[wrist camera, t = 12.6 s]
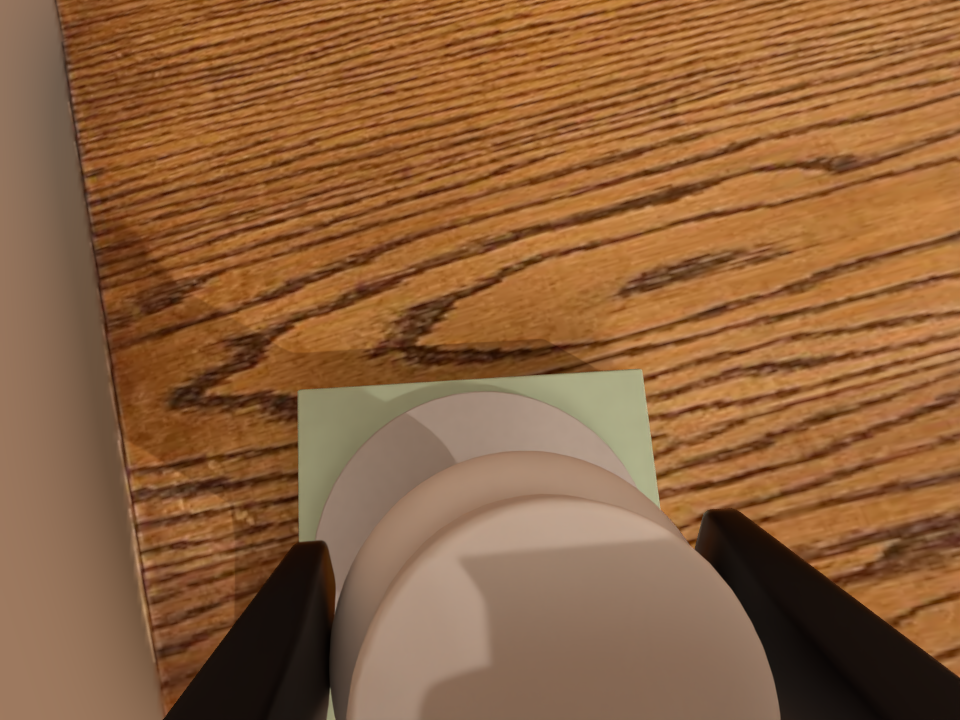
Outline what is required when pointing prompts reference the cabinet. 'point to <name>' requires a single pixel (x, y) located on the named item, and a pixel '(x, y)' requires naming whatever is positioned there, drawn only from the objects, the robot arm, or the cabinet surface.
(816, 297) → the cabinet surface
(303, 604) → the robot arm
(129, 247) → the cabinet surface
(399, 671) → the supplement bottle
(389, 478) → the scale
